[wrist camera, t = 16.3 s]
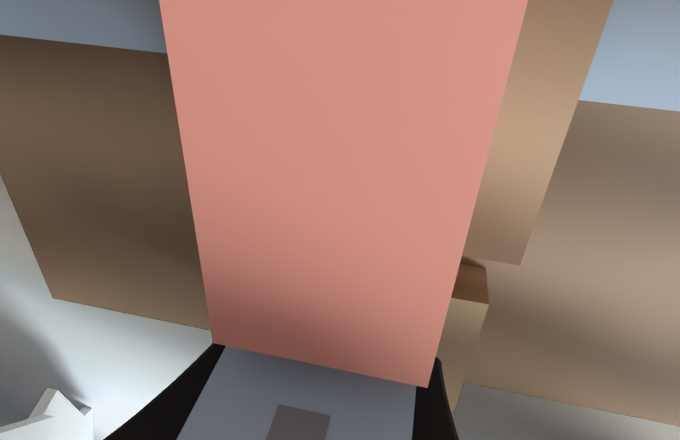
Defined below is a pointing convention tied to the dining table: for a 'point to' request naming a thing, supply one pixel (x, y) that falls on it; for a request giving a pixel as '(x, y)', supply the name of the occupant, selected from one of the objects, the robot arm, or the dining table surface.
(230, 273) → the salmon pink rectangular block
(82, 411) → the spiral staircase
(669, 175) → the jig
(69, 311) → the dining table surface
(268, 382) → the pale blue patched block
